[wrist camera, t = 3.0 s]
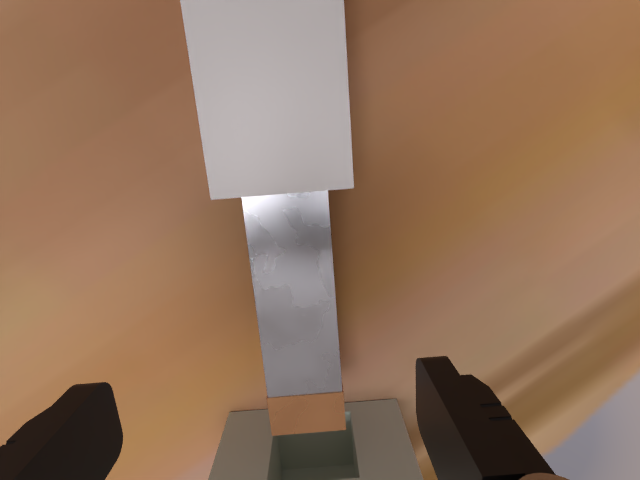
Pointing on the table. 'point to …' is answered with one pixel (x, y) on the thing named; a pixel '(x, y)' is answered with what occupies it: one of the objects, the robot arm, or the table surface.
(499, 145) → the table surface
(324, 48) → the grey sleeve
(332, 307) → the steel tube
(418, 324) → the table surface
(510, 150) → the table surface
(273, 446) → the socket block
